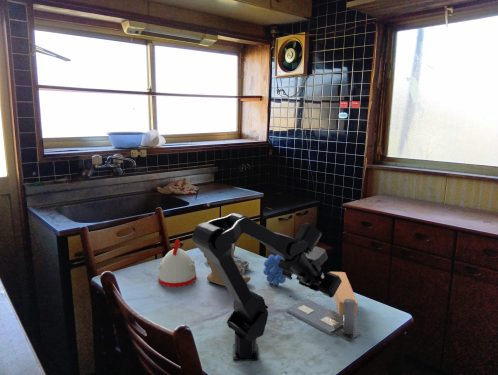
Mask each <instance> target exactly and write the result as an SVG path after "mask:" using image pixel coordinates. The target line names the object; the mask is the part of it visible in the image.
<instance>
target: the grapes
mask: <svg viewBox="0 0 498 375" xmlns="http://www.w3.org/2000/svg"><path fill="white" fill-rule="evenodd" d="M267 258H268V259H265V260H264V262H263V266H264V268H263V270H262V271H263V274H264V275H265V276H266V281H267V282H268V283H271V284H273V286H279V284H284V283H285V282H286V281H287V278H285V277H284V276H283V275H282V270H283V269H281V268H279V267H278V265H279V262H280V259H282V257H281V256H279V255H276V254H274V253H272V254H270V255H269V256H268V257H267Z"/></svg>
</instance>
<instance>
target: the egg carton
mask: <svg viewBox="0 0 498 375" xmlns="http://www.w3.org/2000/svg"><path fill="white" fill-rule="evenodd" d="M234 261H235V263H236V265H237V267H238V269H239V271H240V273H241V274H242V275H244V273H245V272H246V271H245V270H248V271H249V270H250V268H249V267H250V263H251V260H245V259H240V258H236V257H235V256H234Z"/></svg>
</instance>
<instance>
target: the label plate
mask: <svg viewBox="0 0 498 375" xmlns="http://www.w3.org/2000/svg"><path fill="white" fill-rule="evenodd" d="M285 312H287V313H288V314H290V315H292V316H294V317H295V318H298V319H300V320H301V321H303V322H304V323H307V324H309V325H311V326H312V327H314V328H316V329H319V330H320V331H322V332H324V333H325V334H327V335H329V336H332V335H333V334H335V332H336V331H338V330H339V329H341V328H343V315H339V314H338V312H336V311H334V310H332V309H331V308H328V307H325V306H323V305H321V304H319V303H317V302H315V301H313V300H311V299H309V298H306V299H304V300H302V301H299V302H297V303H295V304H293V305H291V306H288V307H287V308H286V311H285Z"/></svg>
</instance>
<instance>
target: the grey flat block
mask: <svg viewBox="0 0 498 375" xmlns="http://www.w3.org/2000/svg"><path fill="white" fill-rule="evenodd" d="M334 334H335V335H336V336H338V337H340V338H342V339H344V340H345V341H348V342H350V343H351V342H353V341H354V340H355V339H357V338H358V337H360V336H361V332H359V331H357V330H355V329H354V332H353V334H345V333H344V332H343V328H341V329H339V330H338V331H336V332H335V333H334Z"/></svg>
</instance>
